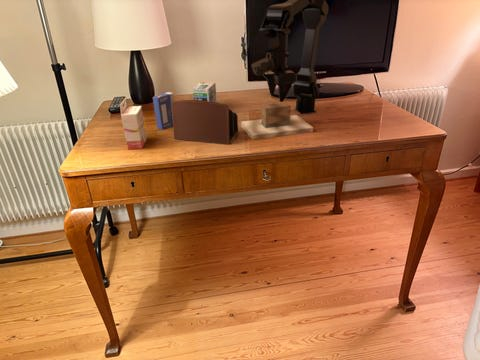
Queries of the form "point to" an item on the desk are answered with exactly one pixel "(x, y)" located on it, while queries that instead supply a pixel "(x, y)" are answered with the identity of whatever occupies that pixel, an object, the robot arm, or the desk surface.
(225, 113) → the letter holder
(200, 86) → the light bulb box
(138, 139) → the ink cartridge box
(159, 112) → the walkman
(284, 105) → the block
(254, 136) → the birch board
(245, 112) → the desk surface
